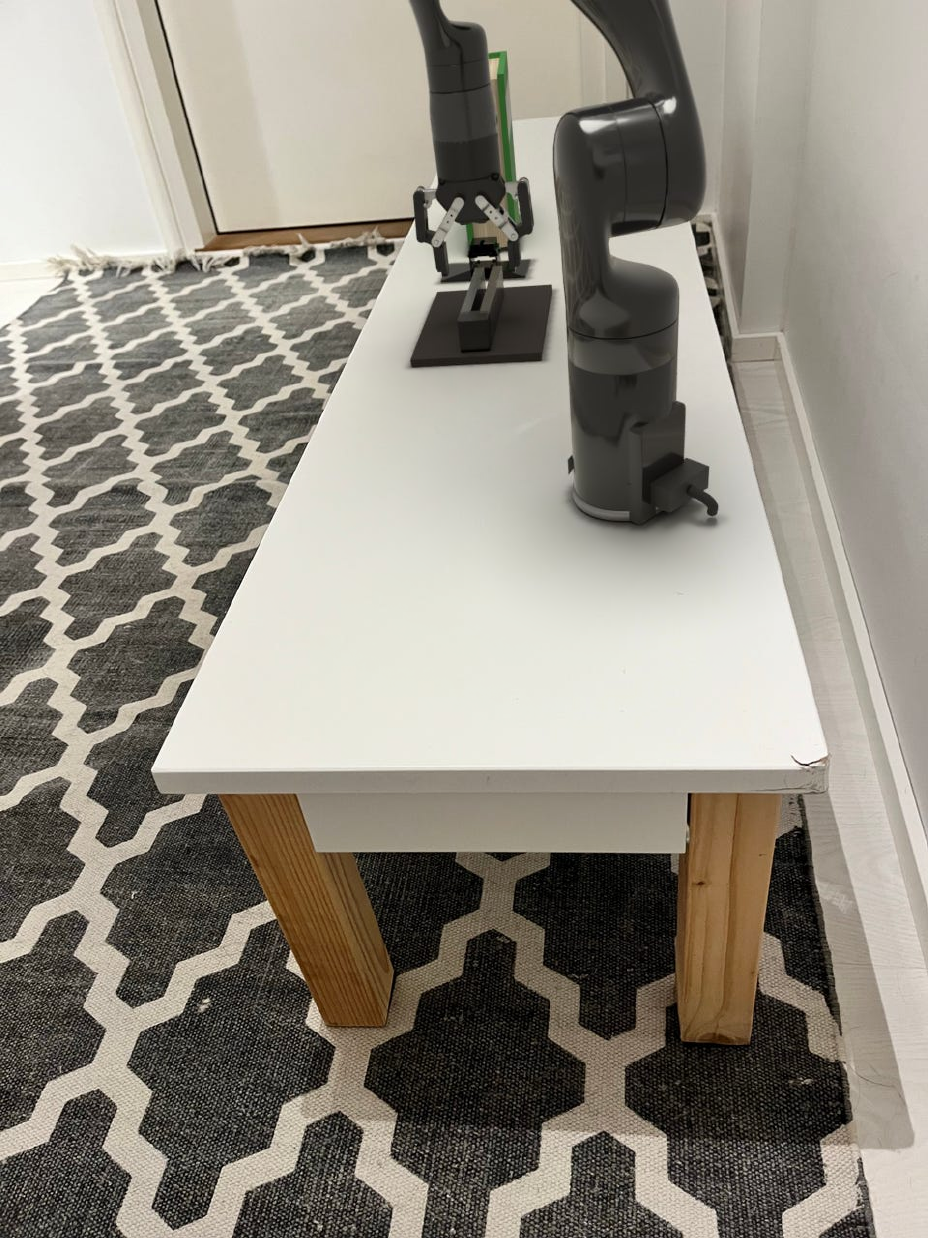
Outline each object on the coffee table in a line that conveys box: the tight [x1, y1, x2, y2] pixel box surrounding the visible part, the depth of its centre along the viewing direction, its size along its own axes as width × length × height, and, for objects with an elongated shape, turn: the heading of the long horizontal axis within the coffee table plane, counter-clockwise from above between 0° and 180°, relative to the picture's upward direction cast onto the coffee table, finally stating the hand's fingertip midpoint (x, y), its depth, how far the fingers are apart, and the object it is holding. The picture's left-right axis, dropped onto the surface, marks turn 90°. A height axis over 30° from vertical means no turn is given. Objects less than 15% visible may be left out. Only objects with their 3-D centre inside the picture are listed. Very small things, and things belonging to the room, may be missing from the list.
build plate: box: [440, 237, 532, 284], centre depth 139 cm, size 12×7×5 cm, turn 80°
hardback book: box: [465, 50, 520, 250], centre depth 146 cm, size 18×7×24 cm, turn 177°
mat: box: [409, 283, 553, 368], centre depth 125 cm, size 22×16×1 cm
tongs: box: [458, 266, 505, 353], centre depth 122 cm, size 18×4×4 cm, turn 173°
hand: (479, 272), depth 120 cm, fingers open, 8 cm apart
